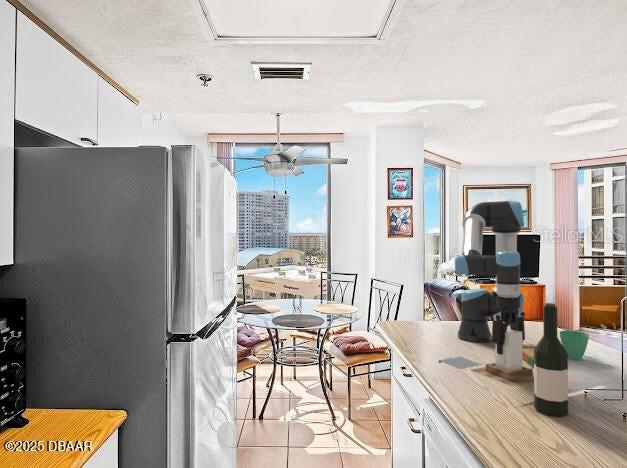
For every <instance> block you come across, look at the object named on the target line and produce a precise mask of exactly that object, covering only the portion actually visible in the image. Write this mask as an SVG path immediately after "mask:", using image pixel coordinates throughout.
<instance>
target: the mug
mask: <svg viewBox="0 0 627 468" xmlns="http://www.w3.org/2000/svg"><path fill="white" fill-rule="evenodd" d="M589 336H590V334H588V333H586V332H585V331H584V332H583V331H578V330H577V331H576V330H573V329H568V330H560V331H559V337H560V342H561V344H562V346H563V347H564V349H565V350H566V352H567V354H568V360H572V361H582V360H583V357H584V356H585V353H586V350H587V347H588V343H589V339H590V337H589Z"/></svg>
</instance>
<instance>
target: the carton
mask: <svg viewBox="0 0 627 468" xmlns="http://www.w3.org/2000/svg"><path fill="white" fill-rule="evenodd" d="M522 361H524V362H525V363H526V364H527V365H528V366H530V368H531V369H534V348H522Z"/></svg>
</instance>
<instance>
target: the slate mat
mask: <svg viewBox="0 0 627 468" xmlns="http://www.w3.org/2000/svg"><path fill="white" fill-rule="evenodd" d="M438 363H439V364H441V363H444V364H446V365H449V366H452V367H453V368H456V369H460V370H461V369H467V368H471V367H476V366H481V365H483V364H481V363H478V362H476V361H473V360H470V359H468V358H466V357H463V356H457V357H455V356H454V357H449V358H444V359H438Z"/></svg>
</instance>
